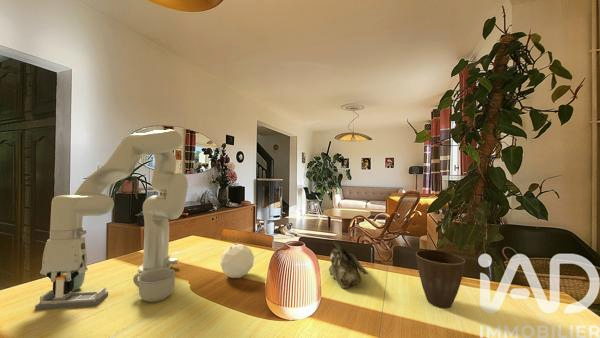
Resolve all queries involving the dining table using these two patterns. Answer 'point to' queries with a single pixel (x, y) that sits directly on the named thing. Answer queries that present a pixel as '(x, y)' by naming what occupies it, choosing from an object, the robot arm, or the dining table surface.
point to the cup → (77, 280)
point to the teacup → (155, 284)
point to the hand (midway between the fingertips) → (63, 292)
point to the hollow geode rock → (345, 267)
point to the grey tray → (72, 300)
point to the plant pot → (440, 276)
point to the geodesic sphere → (237, 260)
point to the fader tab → (61, 289)
